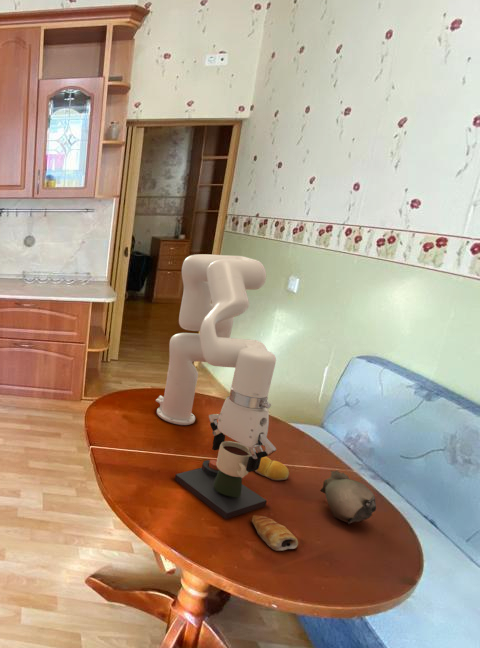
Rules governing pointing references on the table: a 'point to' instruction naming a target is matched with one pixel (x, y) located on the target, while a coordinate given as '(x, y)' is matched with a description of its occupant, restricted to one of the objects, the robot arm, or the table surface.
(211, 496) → the scale
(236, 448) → the character mug
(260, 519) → the pastry
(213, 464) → the button
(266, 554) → the table surface
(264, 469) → the bread roll
